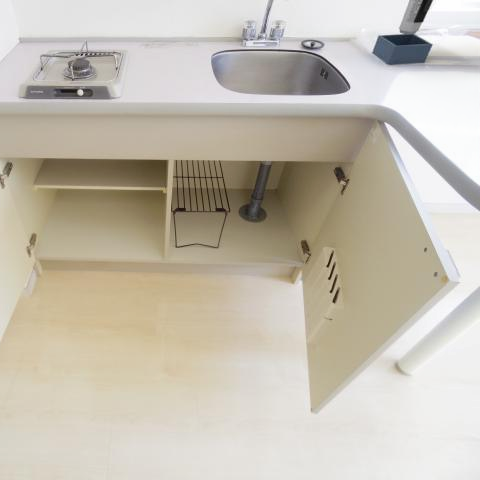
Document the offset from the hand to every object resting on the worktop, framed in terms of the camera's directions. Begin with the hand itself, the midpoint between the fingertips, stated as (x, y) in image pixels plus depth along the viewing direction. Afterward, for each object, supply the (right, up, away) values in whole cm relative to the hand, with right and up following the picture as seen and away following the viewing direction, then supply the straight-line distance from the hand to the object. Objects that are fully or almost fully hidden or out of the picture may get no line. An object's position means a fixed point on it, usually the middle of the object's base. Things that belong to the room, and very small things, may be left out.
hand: (412, 19), depth 117 cm
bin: (+1, -8, +9) cm, 12 cm away
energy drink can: (0, -3, +3) cm, 4 cm away
